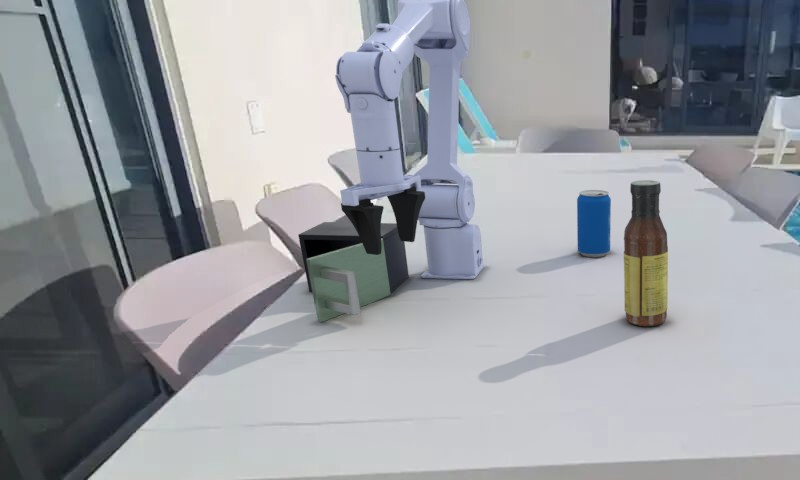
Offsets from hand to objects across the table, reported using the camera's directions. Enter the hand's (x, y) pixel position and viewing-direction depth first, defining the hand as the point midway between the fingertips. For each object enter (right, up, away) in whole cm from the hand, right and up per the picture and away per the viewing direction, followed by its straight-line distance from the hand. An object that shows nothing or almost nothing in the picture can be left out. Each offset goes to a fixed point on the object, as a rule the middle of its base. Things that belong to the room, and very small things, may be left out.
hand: (391, 247), depth 92 cm
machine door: (-4, -9, +4) cm, 11 cm away
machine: (-10, -4, +16) cm, 19 cm away
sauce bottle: (+37, -11, +1) cm, 38 cm away
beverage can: (+29, +5, +35) cm, 45 cm away
